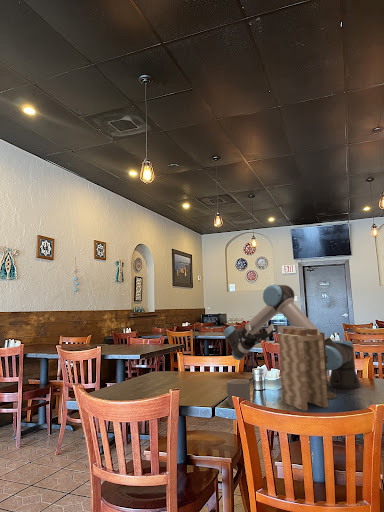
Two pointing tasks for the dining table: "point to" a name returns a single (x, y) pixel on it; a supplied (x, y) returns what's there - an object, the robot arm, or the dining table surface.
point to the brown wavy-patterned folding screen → (302, 368)
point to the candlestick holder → (329, 394)
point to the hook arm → (280, 328)
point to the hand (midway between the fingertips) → (261, 326)
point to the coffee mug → (238, 389)
